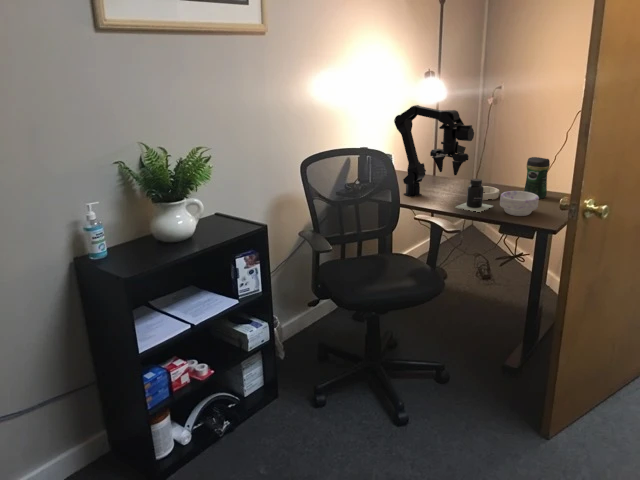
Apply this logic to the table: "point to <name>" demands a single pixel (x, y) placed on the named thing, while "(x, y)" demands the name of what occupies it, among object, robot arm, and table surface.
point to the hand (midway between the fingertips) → (448, 173)
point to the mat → (482, 208)
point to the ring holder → (490, 193)
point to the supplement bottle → (475, 194)
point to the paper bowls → (519, 202)
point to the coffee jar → (537, 176)
